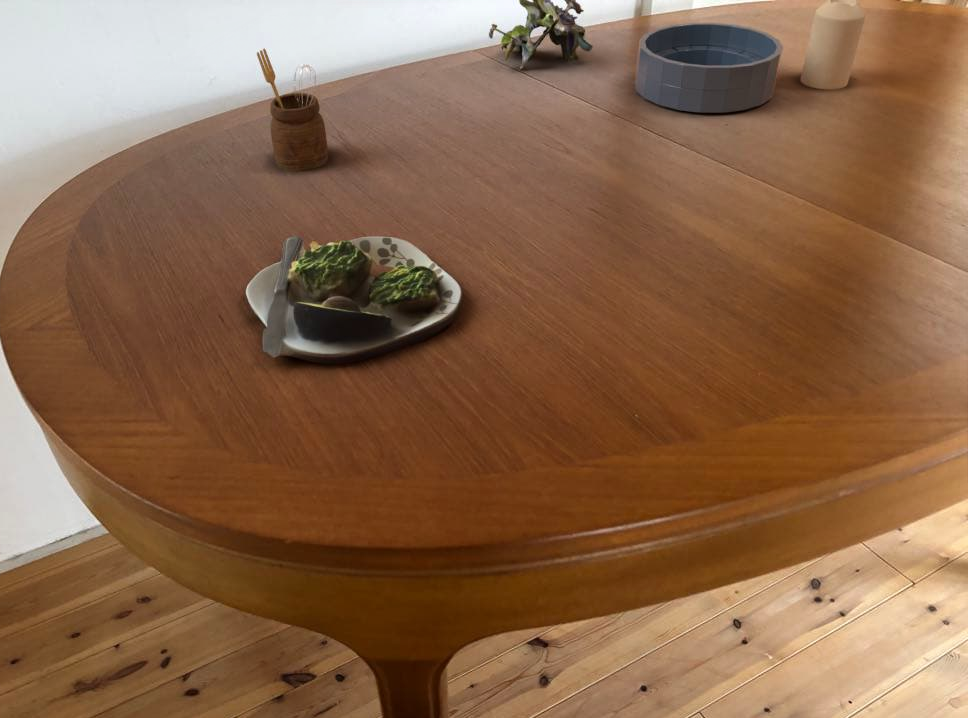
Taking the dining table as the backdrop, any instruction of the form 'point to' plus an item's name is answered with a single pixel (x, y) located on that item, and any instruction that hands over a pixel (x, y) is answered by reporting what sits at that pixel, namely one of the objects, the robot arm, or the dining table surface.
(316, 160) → the utensil holder
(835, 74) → the cream bottle
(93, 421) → the dining table surface
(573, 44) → the passion flower
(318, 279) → the avocado toast plate
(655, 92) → the bowl
